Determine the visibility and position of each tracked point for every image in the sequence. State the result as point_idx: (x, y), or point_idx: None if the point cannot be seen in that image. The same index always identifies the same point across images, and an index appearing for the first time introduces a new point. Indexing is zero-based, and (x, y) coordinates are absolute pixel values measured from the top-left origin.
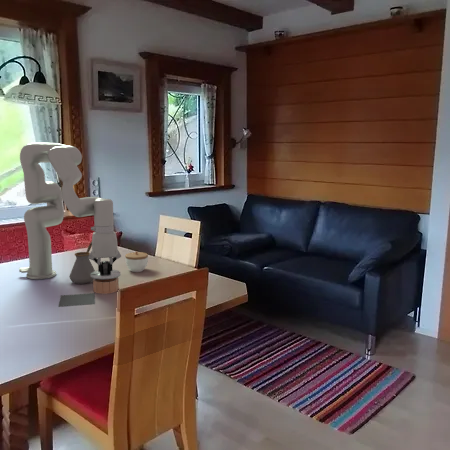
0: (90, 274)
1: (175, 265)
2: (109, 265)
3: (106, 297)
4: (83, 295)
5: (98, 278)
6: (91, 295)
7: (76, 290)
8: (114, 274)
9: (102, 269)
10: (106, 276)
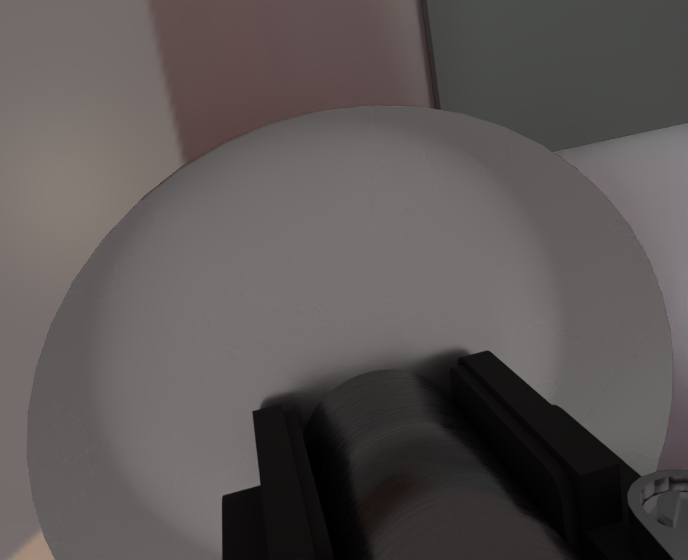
0: (669, 356)
1: None
2: (303, 530)
3: (254, 3)
4: (583, 71)
5: (484, 123)
6: (480, 62)
7: (672, 315)
8: (155, 382)
9: (478, 437)
10: (319, 208)
